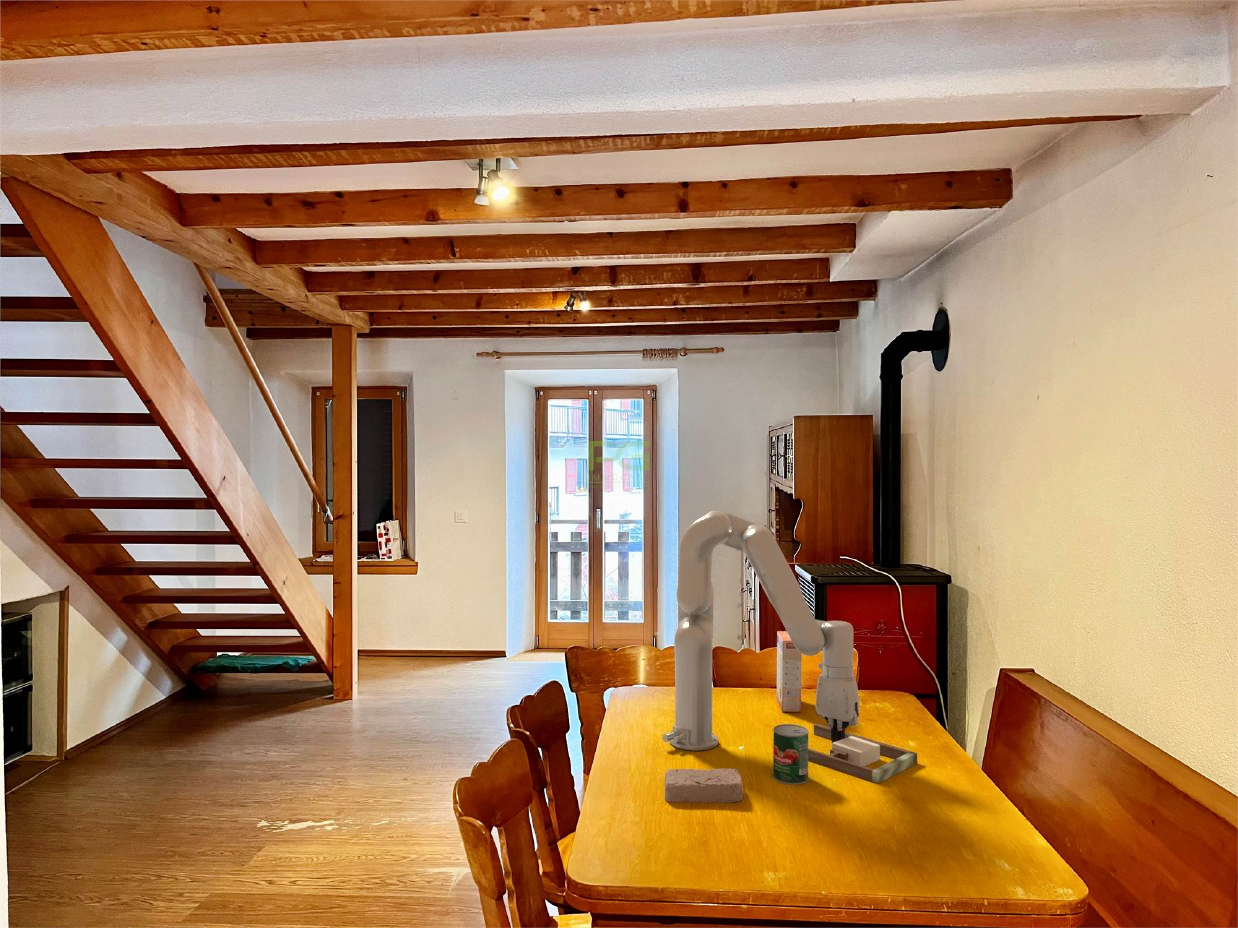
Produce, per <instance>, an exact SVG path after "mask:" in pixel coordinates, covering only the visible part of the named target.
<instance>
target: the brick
mask: <svg viewBox="0 0 1238 928" xmlns="http://www.w3.org/2000/svg"><path fill="white" fill-rule="evenodd" d="M743 795H744V789H743V782H742V776H741V775H740V772H739V770H738V769H737V768H715V769H694V768H681V769H679V768H675V769H672V768H669V769H667V770H666V772H665V775H664V801H665V802H669V803H670V802H671V803H715V804H717V803H722V804H723V803H724V804H725V803H734V802H736V803H737V802H740V801H742V800H743V797H744V796H743Z"/></svg>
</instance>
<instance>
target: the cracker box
mask: <svg viewBox="0 0 1238 928" xmlns="http://www.w3.org/2000/svg"><path fill="white" fill-rule="evenodd" d="M776 632H777V633H776V634H777V635H776V636H777V637H776V652H777V653H776V700H777V702H778V705H779V708H780V710H781V712H783V713H802V659H803V658H802V657H803V654H802V653H800V652H799V651H798V650H797V649H796V648H795V646H794V644H793V642H792V640H791V638H790V636H789V634H788V632H787V630H784V631H782V630H778V631H776Z"/></svg>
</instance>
